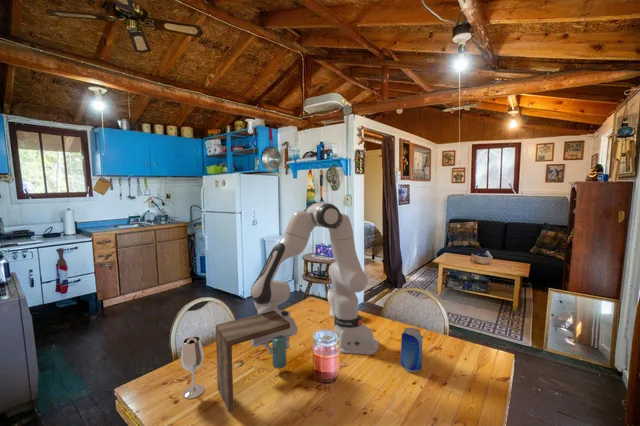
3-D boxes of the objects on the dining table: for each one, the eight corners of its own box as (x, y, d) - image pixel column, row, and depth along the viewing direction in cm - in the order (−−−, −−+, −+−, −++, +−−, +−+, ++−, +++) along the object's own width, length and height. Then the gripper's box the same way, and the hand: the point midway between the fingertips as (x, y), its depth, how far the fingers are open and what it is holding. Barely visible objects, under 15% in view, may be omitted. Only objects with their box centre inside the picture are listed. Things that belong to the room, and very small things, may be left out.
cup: (328, 310, 183) (328, 287, 181) (345, 311, 181) (345, 287, 180) (326, 318, 172) (326, 293, 171) (344, 319, 171) (344, 294, 169)
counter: (217, 388, 111) (215, 324, 109) (274, 367, 125) (273, 310, 122) (228, 412, 100) (227, 341, 98) (290, 386, 113) (289, 323, 111)
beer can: (397, 367, 125) (398, 331, 123) (406, 359, 131) (407, 324, 129) (416, 376, 119) (417, 338, 118) (425, 367, 125) (426, 330, 124)
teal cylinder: (288, 361, 124) (288, 336, 123) (283, 369, 118) (282, 342, 118) (276, 359, 125) (275, 334, 124) (270, 366, 120) (270, 340, 119)
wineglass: (196, 400, 105) (194, 346, 104) (177, 397, 107) (174, 344, 105) (209, 386, 113) (207, 336, 111) (190, 383, 114) (188, 334, 113)
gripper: (248, 321, 120) (258, 356, 113) (292, 310, 132) (304, 341, 124) (244, 328, 124) (253, 361, 117) (288, 316, 136) (298, 346, 128)
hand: (280, 350), depth 121 cm, fingers closed on teal cylinder, 6 cm apart
